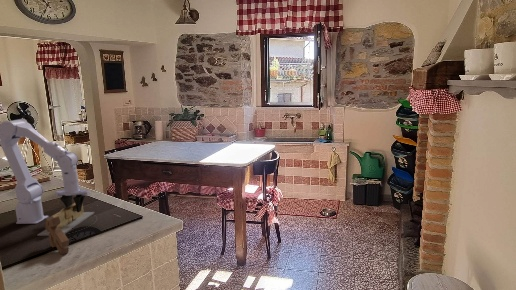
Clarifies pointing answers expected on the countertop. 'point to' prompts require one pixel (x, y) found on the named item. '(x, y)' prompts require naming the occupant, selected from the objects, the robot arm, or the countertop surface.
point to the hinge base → (62, 219)
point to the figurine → (57, 235)
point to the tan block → (72, 212)
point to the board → (70, 224)
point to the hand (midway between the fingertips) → (74, 211)
